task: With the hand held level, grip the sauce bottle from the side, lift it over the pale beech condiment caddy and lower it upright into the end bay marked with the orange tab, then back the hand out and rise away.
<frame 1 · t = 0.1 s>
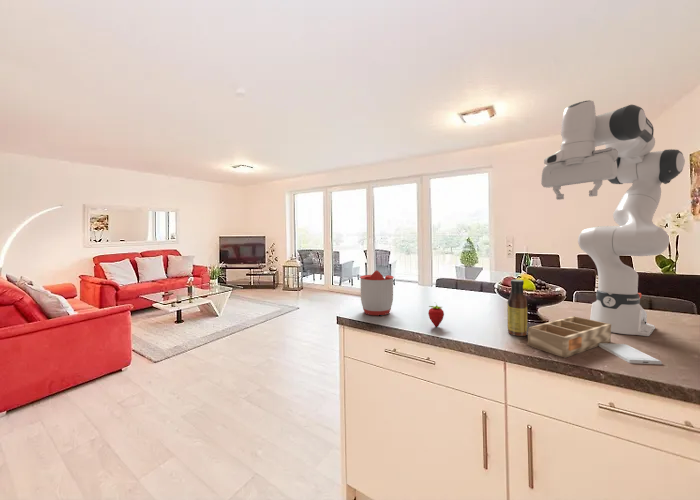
hand: (575, 197, 95), 48 cm above the worktop, tool pointing down, fingers open, 8 cm apart
citrus juicer: (377, 312, 138), on the worktop
sauce bottle: (516, 334, 107), on the worktop
hard drive: (627, 357, 89), on the worktop
condiment caddy: (569, 343, 98), on the worktop
strawberry: (436, 327, 116), on the worktop
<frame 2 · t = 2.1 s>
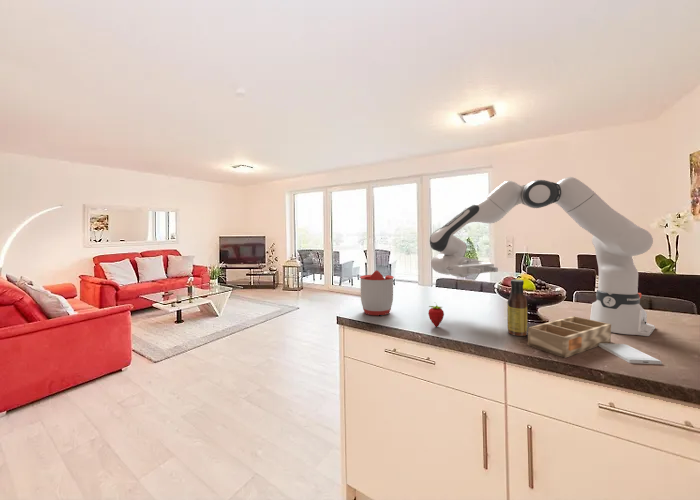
hand: (488, 270, 117), 22 cm above the worktop, tool horizontal, fingers open, 8 cm apart
nothing on the worktop moved.
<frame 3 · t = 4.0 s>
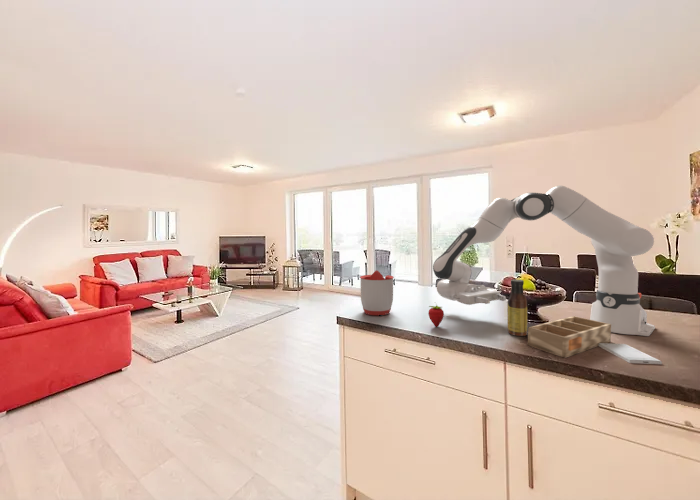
hand: (496, 300, 114), 11 cm above the worktop, tool horizontal, fingers open, 8 cm apart
nothing on the worktop moved.
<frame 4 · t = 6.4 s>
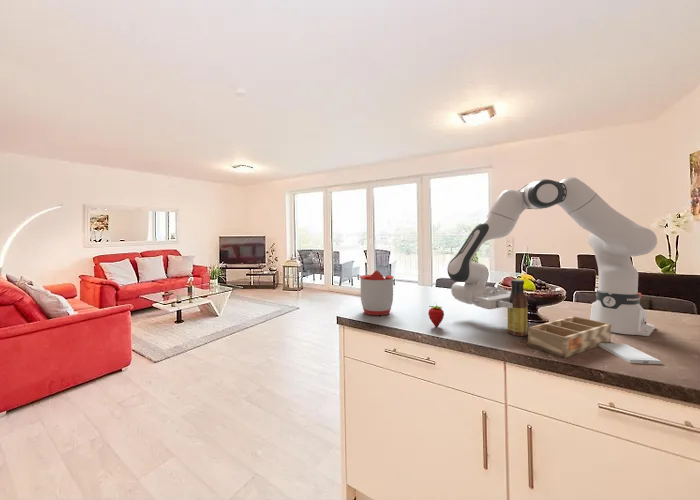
hand: (519, 304, 106), 11 cm above the worktop, tool horizontal, fingers closed on sauce bottle, 6 cm apart
sauce bottle: (516, 334, 107), on the worktop, touching gripper
everything else where it was.
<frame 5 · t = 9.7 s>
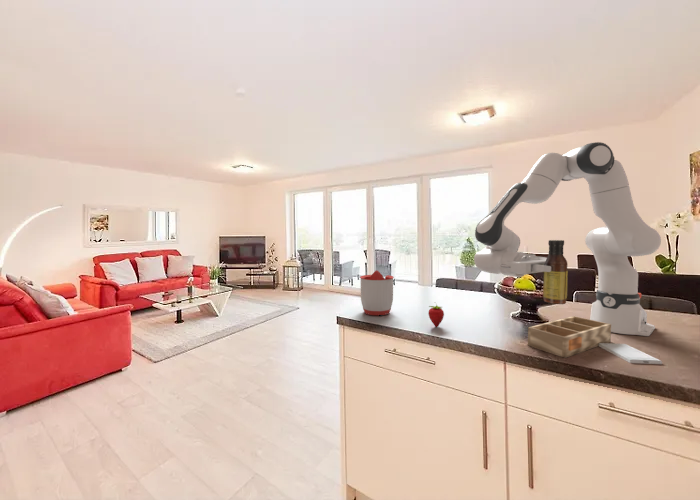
hand: (558, 268, 92), 26 cm above the worktop, tool horizontal, fingers closed on sauce bottle, 6 cm apart
sauce bottle: (554, 303, 93), point 14 cm above the worktop, touching gripper
everything else where it was.
when the fingers open (13 cm above the worktop, at t = 12.8 s): sauce bottle stays where it is, resting on condiment caddy.
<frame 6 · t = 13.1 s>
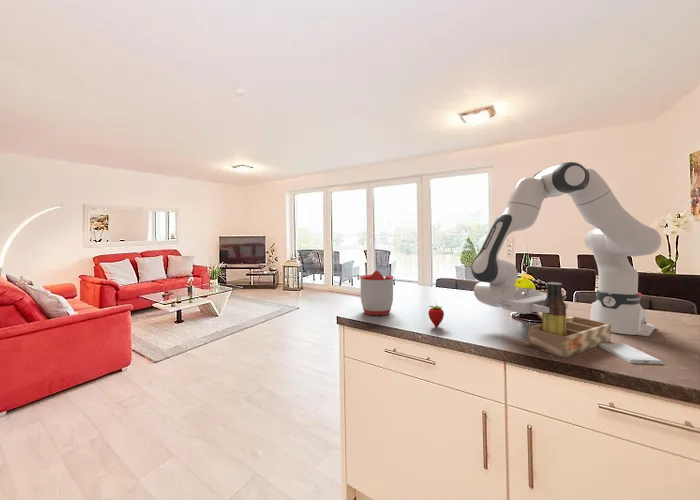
hand: (558, 308, 92), 13 cm above the worktop, tool horizontal, fingers open, 8 cm apart
sauce bottle: (553, 345, 94), point 1 cm above the worktop, touching condiment caddy
everything else where it was.
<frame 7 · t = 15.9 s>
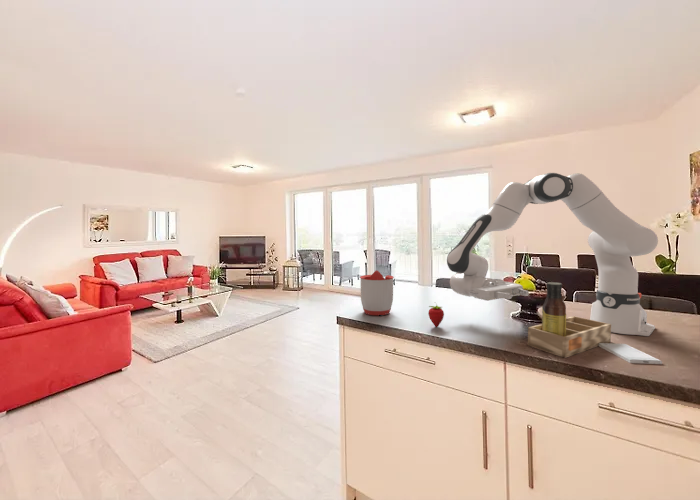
hand: (519, 295, 104), 15 cm above the worktop, tool horizontal, fingers open, 8 cm apart
nothing on the worktop moved.
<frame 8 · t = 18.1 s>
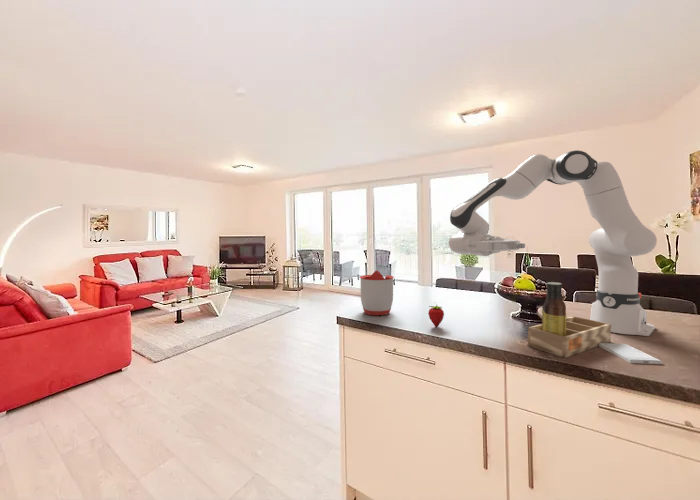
hand: (515, 246, 106), 32 cm above the worktop, tool horizontal, fingers open, 8 cm apart
nothing on the worktop moved.
at the end: sauce bottle 0.4 cm from the target spot on the condiment caddy, point 1.0 cm above the condiment caddy's base; sauce bottle tilted 0°; the gripper is holding nothing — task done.
